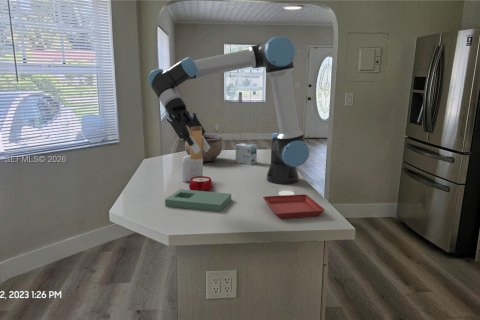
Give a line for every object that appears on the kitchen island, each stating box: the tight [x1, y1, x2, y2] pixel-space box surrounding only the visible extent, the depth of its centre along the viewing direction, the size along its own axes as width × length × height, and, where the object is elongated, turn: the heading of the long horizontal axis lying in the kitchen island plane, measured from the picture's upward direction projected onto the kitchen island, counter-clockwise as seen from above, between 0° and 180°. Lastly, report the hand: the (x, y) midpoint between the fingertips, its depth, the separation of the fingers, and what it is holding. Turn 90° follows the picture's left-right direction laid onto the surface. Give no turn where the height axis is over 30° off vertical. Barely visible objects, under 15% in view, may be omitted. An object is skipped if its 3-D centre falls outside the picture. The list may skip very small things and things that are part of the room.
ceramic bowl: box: [184, 132, 224, 163], centre depth 217 cm, size 22×22×15 cm
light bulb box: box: [235, 142, 258, 166], centre depth 213 cm, size 11×7×11 cm, turn 58°
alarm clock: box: [188, 175, 213, 192], centre depth 163 cm, size 10×6×15 cm
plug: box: [189, 126, 203, 160], centre depth 139 cm, size 4×4×12 cm
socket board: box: [164, 188, 232, 212], centre depth 144 cm, size 22×14×2 cm, turn 75°
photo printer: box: [181, 154, 204, 183], centre depth 175 cm, size 10×4×12 cm, turn 123°
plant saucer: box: [262, 193, 326, 219], centre depth 137 cm, size 18×18×3 cm
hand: (203, 150), depth 138 cm, fingers closed on plug, 4 cm apart
